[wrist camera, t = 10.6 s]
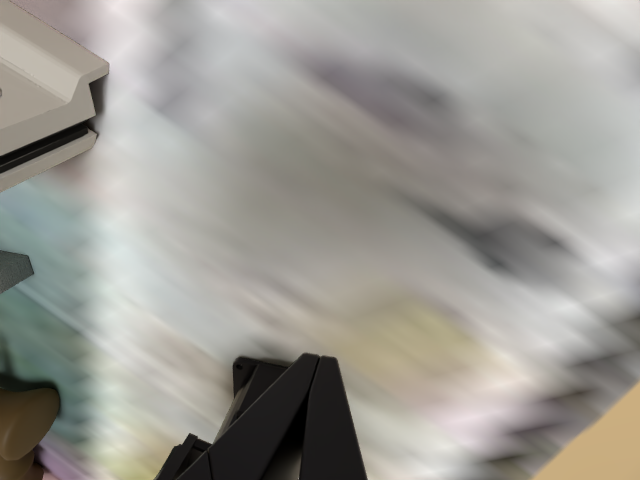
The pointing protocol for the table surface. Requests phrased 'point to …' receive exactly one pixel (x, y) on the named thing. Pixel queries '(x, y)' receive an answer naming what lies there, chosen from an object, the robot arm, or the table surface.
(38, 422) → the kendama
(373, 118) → the table surface
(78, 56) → the hinge
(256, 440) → the robot arm
